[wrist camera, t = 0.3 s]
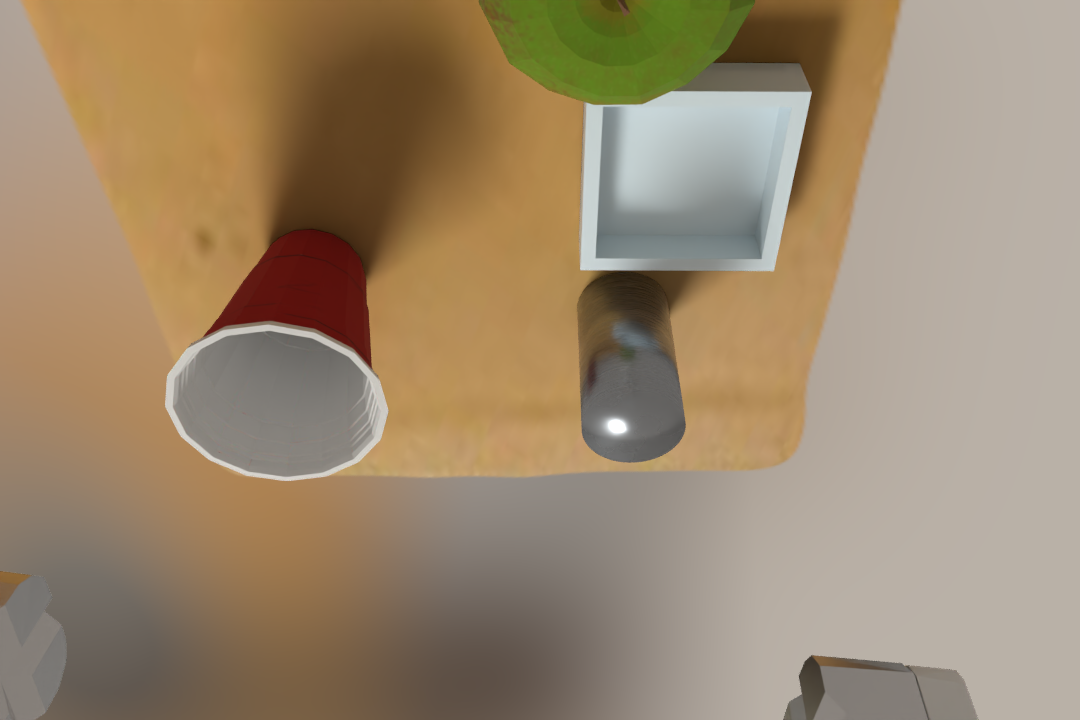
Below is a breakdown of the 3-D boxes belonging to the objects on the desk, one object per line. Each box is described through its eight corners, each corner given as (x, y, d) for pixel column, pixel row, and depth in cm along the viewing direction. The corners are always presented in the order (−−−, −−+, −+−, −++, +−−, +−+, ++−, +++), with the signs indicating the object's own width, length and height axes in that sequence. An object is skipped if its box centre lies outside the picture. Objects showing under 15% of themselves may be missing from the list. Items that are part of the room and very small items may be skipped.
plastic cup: (438, 315, 58) (419, 463, 49) (279, 351, 60) (233, 500, 51) (366, 167, 51) (328, 310, 42) (189, 215, 53) (118, 360, 44)
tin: (578, 271, 56) (583, 391, 48) (671, 272, 56) (691, 392, 48) (576, 341, 59) (580, 462, 52) (663, 341, 59) (680, 462, 52)
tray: (585, 62, 47) (587, 90, 45) (799, 63, 47) (811, 91, 44) (579, 238, 54) (580, 270, 52) (764, 238, 54) (773, 270, 52)
